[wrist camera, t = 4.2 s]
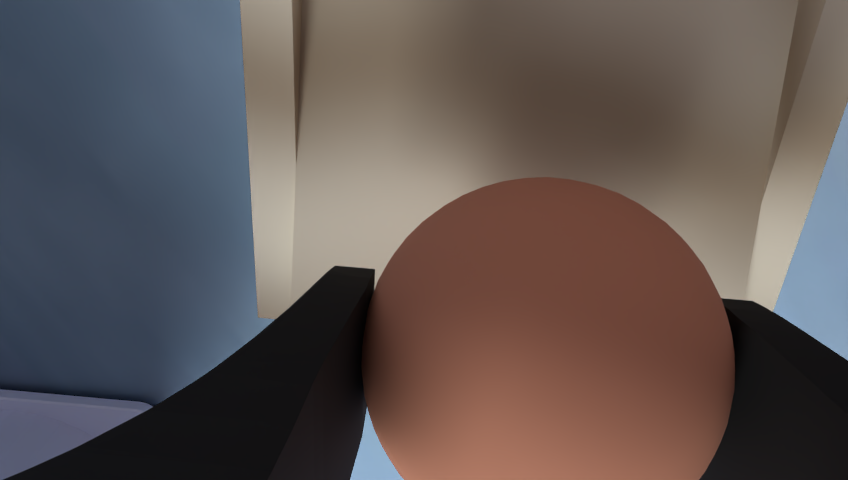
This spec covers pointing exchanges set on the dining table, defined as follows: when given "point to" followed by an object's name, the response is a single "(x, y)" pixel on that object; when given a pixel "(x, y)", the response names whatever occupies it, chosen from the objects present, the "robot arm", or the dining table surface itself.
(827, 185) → the dining table surface
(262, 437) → the robot arm
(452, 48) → the tray
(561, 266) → the ball
